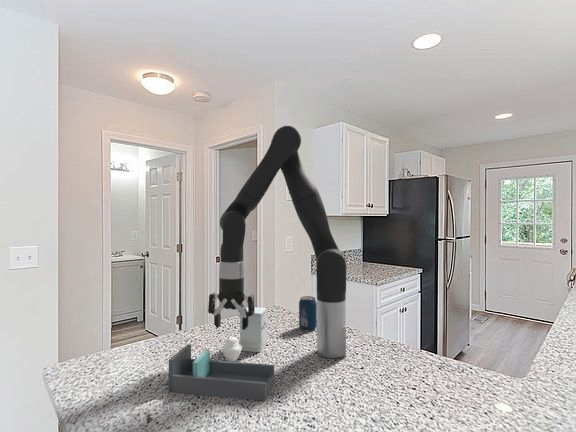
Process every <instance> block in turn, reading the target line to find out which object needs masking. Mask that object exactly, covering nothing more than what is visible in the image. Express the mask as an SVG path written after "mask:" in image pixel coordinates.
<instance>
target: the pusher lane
mask: <svg viewBox="0 0 576 432" xmlns="http://www.w3.org/2000/svg"><path fill="white" fill-rule="evenodd" d="M196 359H197V358H192V344H190V343H188V344H186V345H185V346H184V347H183V348H182V349H180V350H179V351H178V352H176V353H175V354H174V355H172V356H171V358H169V359H168V392H169V393H170V392H171V393H181V394H191V395H200V396H210V397H211V396H213V397H222V398H231V399H241V400H251V401H252V400H253V401H261V402H262V401H264V402H266V400H267V398H268V395H269V393H270V390H271V388H272V386H273V384H274V382H275V364H266V363H252V362H241V361H240V362H238V361H234V362H229V361H227V360H214V359H213V360H212V359H210V373H209V374H208V375H207V376H206V377H198V376H193V362H194V361H195V360H196Z"/></svg>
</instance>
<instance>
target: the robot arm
mask: <svg viewBox="0 0 576 432" xmlns="http://www.w3.org/2000/svg"><path fill="white" fill-rule="evenodd" d="M301 143H302V136H301V133H300V131H299V130H298V129H297V128H296V127H294V126H291V125H283V126H281V127H279V128H278V129H277V130H276V131H275V132H274V135H273V136H272V139H271V141H270V145H269V147H268V149H267V150H266V153H265V154H264V156H263V158H262V159H261V161H260V162H259V163H258V165H257V167H256V168H255V169H254V170H253V172H252V173H251V175H250V177H249V178H248V179H247V180H246V181H245V183H244V185H243V186H242V187H241V189H240V191H238V193H237V195H236V197H235V199H234V200H233V201H232V202H231V203H230V204H229V206H228V207H227V209H225V211H224V212H223V213H222V215H221V217H220V219H219V227H220V229H221V230H222V243H221V246H220V254H219V255H220V257H219V258H220V261H219V269H218V270H219V272H218V276H219V279H218V280H219V281H218V282H219V283H218V285H219V286H218V290H219V293H216V292H212V293H210V294H209V296H208V305H207V306H208V309H207V313H208V314H211V315H213V316H214V317H213V320H214V321H213V325H214V327H215V328H217V329H219V328H220V327H221V326H222V324H221V322H222V321H221V317H222V316H221V312H222V311H223V310H224V309H225V310H229V309H230V310H237V312H238V313H239V314H240V313H241V315H242V316H243V318H242V330H245V329H246V328H247V327H248V317H249V316H252V315H253V314H254V313H255V310H254V307H255V296H254V294H249V295H245V292H244V291H245V287H244V286H245V266H244V243H245V238H246V237H245V236H246V220H247V218H248V217H249V215H250V213H251V212H253V211H254V210H255V209H256V208H257V207H258V205H259V203H260V202H261V201H262V199H263V198H264V196H265V195H266V193H267V191H268V189H269V188H270V186H271V184H272V183H273V181H274V179H275V178H276V176H277V174H278V172H279V171H280V170H281V173H282V174H283V178H284V180H285V183H286V188H287V189H288V194H289V196H290V198H291V201H292V204H293V207H294V210H295V212H296V214H297V218H298V219H299V222H300V224H301V225H302V226H303V228H304V230H305V233H306V234H307V235H308V238H309V239H310V242H311V245H312V249H313V251H314V255H315V260H316V302H317V326H316V349H317V350H316V351H317V352H316V353H317V354H318V355H319V356H321V357H323V358H328V359H338V358H346V357H347V322H346V321H347V319H346V318H347V315H346V312H347V311H346V309H347V308H346V303H347V302H346V295H347V262H346V259H345V256H344V255H343V254H342V252H341V251H340V249H339V247H338V245H337V243H336V241H335V239H334V236H333V235H332V232H331V229H330V224H329V221H328V216H327V213H326V208H325V205H324V203H323V200H322V197H321V195H320V192H319V191H318V188H317V186H316V185H315V183H314V182H313V180H312V179H311V178H310V176H309V175H308V174H307V172H306V170H305V169H304V167H303V164H302V160H301V158H300V153H299V149H300V147H301ZM217 300H218V301H219V302H220V304H218V306H217V308H216V301H217ZM244 301H245V302H246V303H247V306H246V305H245V304H244V303H243V302H244ZM247 307H248V311H247V310H246V308H247Z"/></svg>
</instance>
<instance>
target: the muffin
mask: <svg viewBox="0 0 576 432" xmlns="http://www.w3.org/2000/svg"><path fill="white" fill-rule="evenodd" d="M241 350H242V345H241V344H240V341H239V339H238V338H237V337H236V336H229V337H228V338H227V339H226V342H225V343H224V344H223V345H222V347H221V351H222V354H223V356H224V358H225V361H228V362H237V361H238V360H239V357H240V355H241V353H242V351H241Z"/></svg>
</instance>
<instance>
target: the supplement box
mask: <svg viewBox="0 0 576 432" xmlns="http://www.w3.org/2000/svg"><path fill="white" fill-rule="evenodd" d="M246 310H247V311H248V306H246ZM254 310H255V313H254V314H253V315H252V316H249V317H248V327H247V328H246V329H245V330H242V318H243V316H242V315H241V313H240V312H239V343H240V344H241V345H242V350H241V352H253V353H261V352H262V351H263V349H264V348H265V346H266V345H267V307H256V306H254Z"/></svg>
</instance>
